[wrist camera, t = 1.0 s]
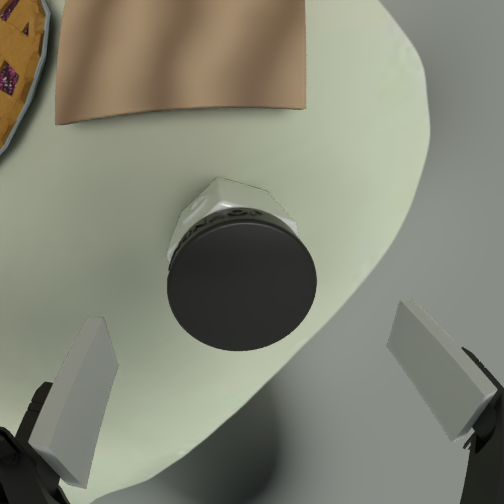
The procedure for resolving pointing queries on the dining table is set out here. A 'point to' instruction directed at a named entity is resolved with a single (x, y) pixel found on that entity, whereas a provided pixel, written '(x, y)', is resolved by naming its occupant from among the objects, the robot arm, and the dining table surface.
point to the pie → (20, 59)
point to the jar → (238, 269)
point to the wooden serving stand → (179, 56)
